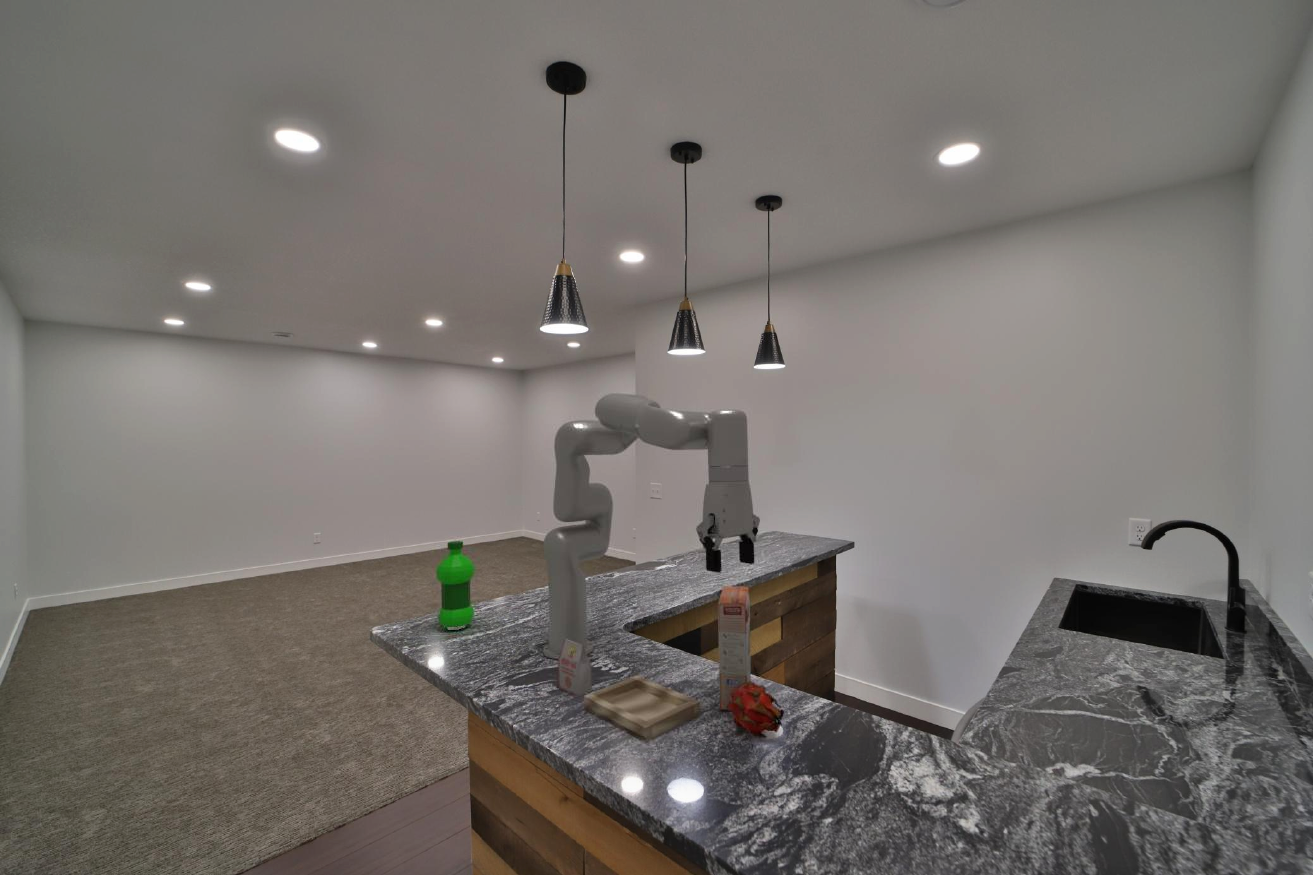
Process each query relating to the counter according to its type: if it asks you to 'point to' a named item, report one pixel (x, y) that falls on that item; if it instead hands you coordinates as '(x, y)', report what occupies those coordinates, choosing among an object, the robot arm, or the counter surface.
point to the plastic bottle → (455, 587)
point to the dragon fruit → (755, 709)
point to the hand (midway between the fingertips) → (730, 566)
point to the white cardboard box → (574, 669)
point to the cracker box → (733, 641)
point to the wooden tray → (642, 707)
